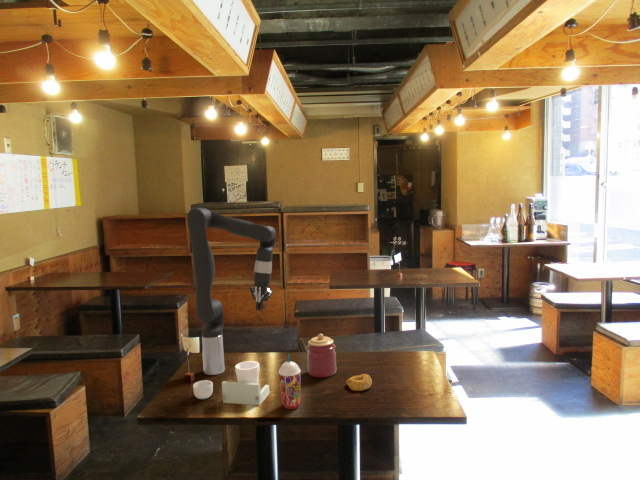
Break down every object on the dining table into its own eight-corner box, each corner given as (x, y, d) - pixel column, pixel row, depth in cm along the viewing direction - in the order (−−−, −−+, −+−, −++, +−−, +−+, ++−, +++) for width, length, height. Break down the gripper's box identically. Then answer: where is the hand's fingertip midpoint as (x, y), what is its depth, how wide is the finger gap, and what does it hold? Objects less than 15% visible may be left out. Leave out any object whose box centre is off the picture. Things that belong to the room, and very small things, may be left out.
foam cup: (264, 392, 197) (262, 361, 196) (256, 402, 188) (254, 370, 187) (242, 391, 200) (240, 360, 198) (233, 401, 191) (231, 368, 190)
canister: (337, 377, 210) (335, 337, 209) (307, 378, 211) (305, 338, 209) (336, 366, 223) (334, 329, 222) (308, 367, 224) (306, 330, 222)
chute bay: (234, 391, 200) (233, 372, 200) (269, 393, 197) (268, 374, 196) (223, 402, 190) (221, 382, 189) (259, 405, 186) (258, 385, 185)
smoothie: (299, 411, 179) (296, 358, 177) (277, 410, 181) (274, 358, 179) (304, 401, 187) (302, 351, 185) (283, 400, 189) (281, 350, 187)
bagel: (356, 379, 207) (355, 369, 207) (377, 386, 200) (376, 375, 199) (341, 387, 200) (340, 376, 199) (362, 394, 193) (361, 383, 192)
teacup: (212, 400, 193) (211, 387, 192) (192, 401, 192) (191, 388, 191) (215, 390, 203) (214, 377, 202) (196, 391, 202) (195, 379, 201)
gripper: (246, 269, 215) (242, 308, 215) (266, 273, 206) (262, 314, 207) (259, 269, 220) (255, 307, 221) (279, 273, 212) (275, 312, 212)
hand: (259, 310), depth 214 cm, fingers closed
